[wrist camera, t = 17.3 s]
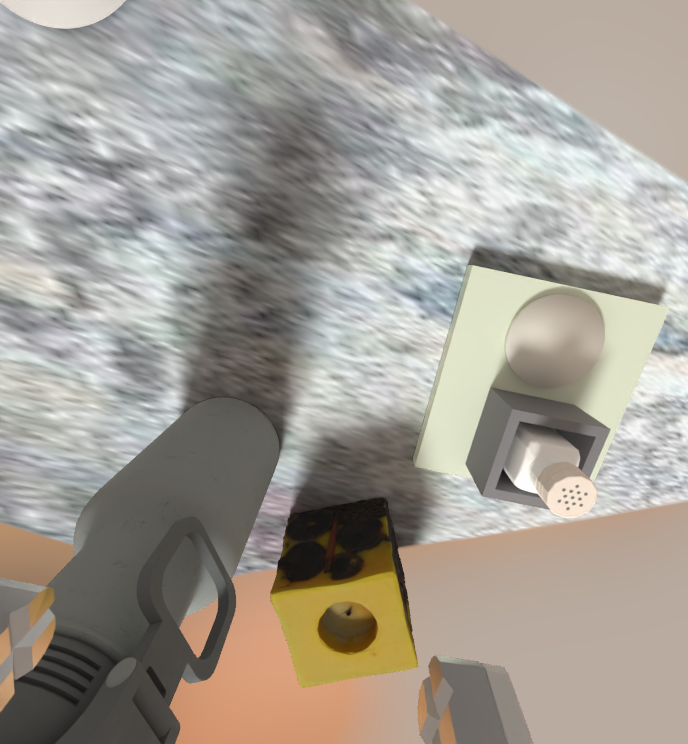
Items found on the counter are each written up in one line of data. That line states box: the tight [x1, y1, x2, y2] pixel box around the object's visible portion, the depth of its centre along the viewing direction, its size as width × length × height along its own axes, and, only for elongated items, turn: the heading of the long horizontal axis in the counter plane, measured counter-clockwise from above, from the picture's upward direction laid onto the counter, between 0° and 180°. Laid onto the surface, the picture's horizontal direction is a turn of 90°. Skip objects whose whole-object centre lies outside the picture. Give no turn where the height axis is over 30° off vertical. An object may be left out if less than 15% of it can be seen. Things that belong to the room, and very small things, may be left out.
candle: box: [270, 498, 418, 688], centre depth 35 cm, size 10×10×10 cm
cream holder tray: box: [413, 265, 670, 510], centre depth 32 cm, size 18×16×6 cm
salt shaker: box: [503, 421, 597, 518], centre depth 30 cm, size 4×4×10 cm
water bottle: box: [0, 397, 280, 744], centre depth 24 cm, size 10×10×28 cm
